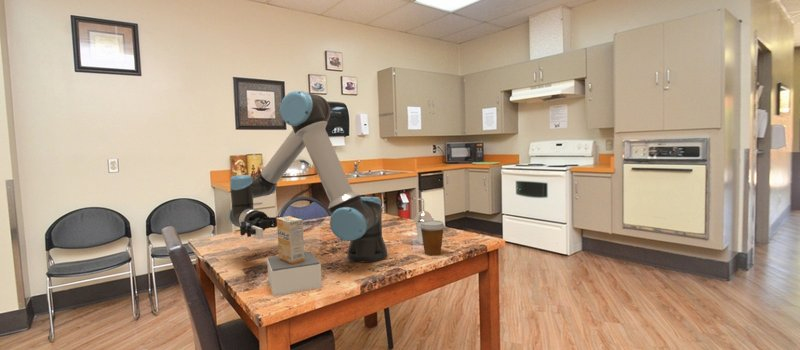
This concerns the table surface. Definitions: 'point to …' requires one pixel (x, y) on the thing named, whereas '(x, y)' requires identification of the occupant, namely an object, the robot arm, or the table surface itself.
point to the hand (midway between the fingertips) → (282, 229)
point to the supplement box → (290, 239)
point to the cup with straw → (421, 220)
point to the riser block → (294, 275)
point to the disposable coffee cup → (432, 236)
